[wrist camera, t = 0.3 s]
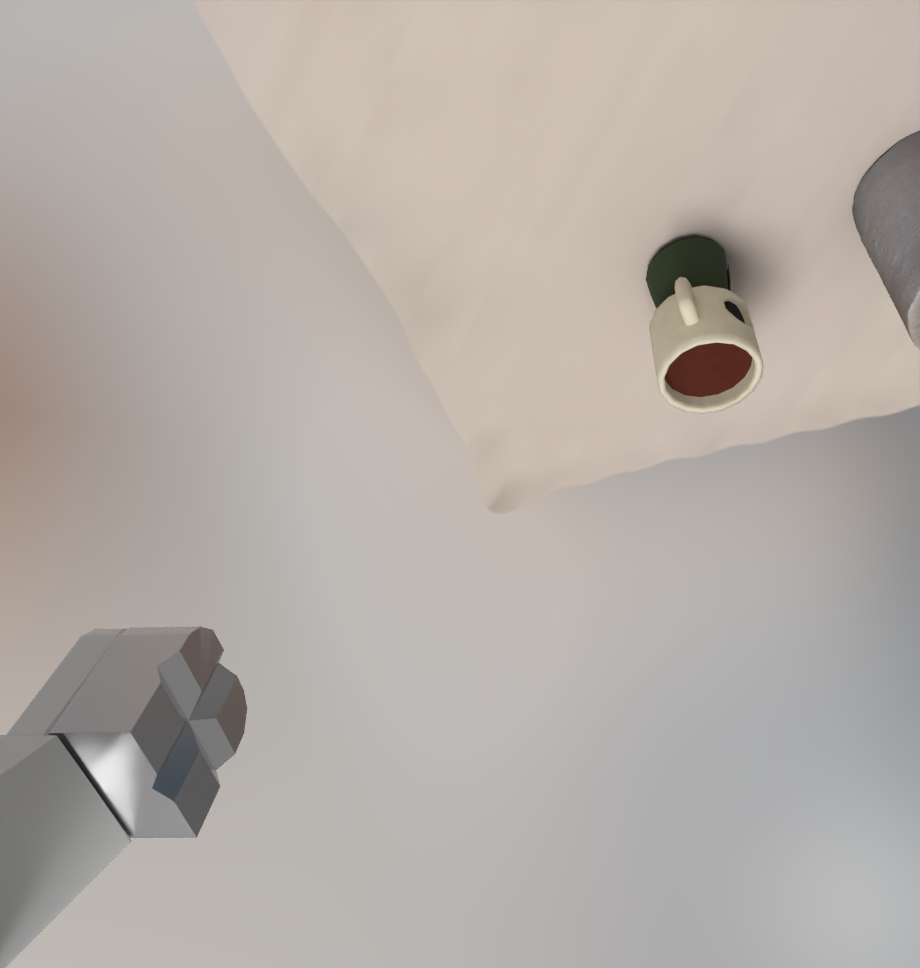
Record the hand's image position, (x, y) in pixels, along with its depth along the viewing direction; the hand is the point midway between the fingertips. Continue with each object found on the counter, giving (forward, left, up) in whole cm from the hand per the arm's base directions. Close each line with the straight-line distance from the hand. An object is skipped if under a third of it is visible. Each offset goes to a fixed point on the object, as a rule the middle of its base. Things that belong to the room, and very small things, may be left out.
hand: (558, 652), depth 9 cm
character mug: (+21, +25, -51) cm, 61 cm away
